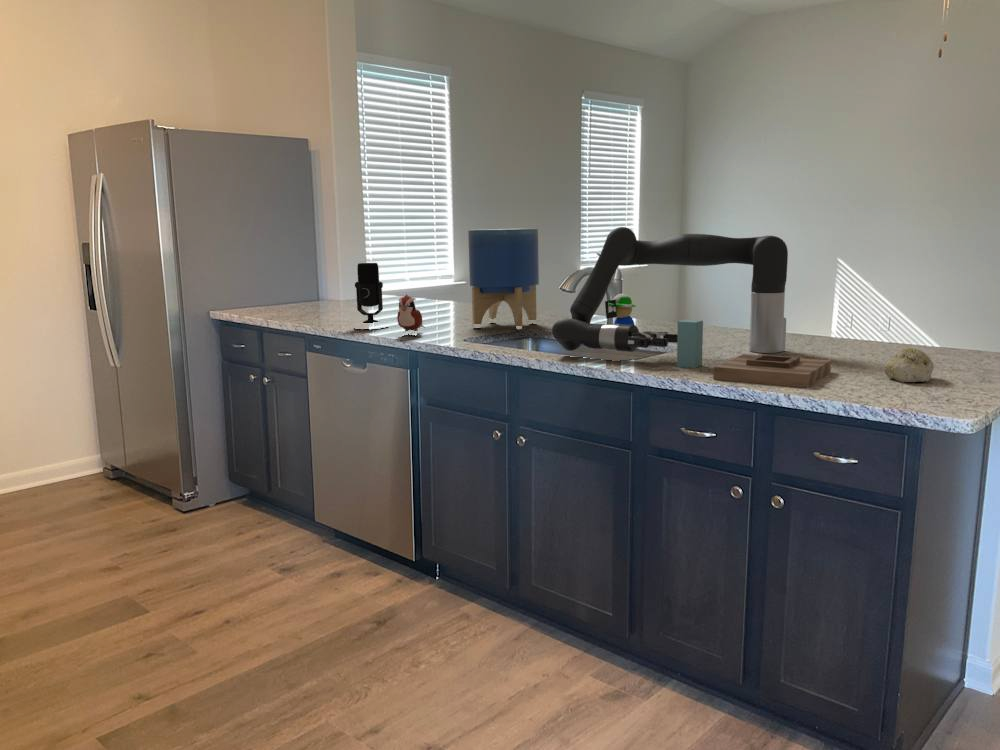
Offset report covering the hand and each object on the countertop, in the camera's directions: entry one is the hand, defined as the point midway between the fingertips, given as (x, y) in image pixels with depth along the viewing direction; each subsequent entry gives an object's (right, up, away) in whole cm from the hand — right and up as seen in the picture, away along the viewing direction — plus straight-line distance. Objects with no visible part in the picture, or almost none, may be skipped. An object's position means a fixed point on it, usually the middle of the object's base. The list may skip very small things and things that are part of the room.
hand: (673, 340), depth 216 cm
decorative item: (+50, -11, -26) cm, 57 cm away
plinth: (+21, -9, -18) cm, 29 cm away
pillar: (+4, -7, -2) cm, 8 cm away
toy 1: (-78, +5, +73) cm, 107 cm away
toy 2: (-6, +3, +52) cm, 52 cm away
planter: (-45, +9, +93) cm, 103 cm away
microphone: (-97, +9, +98) cm, 138 cm away
